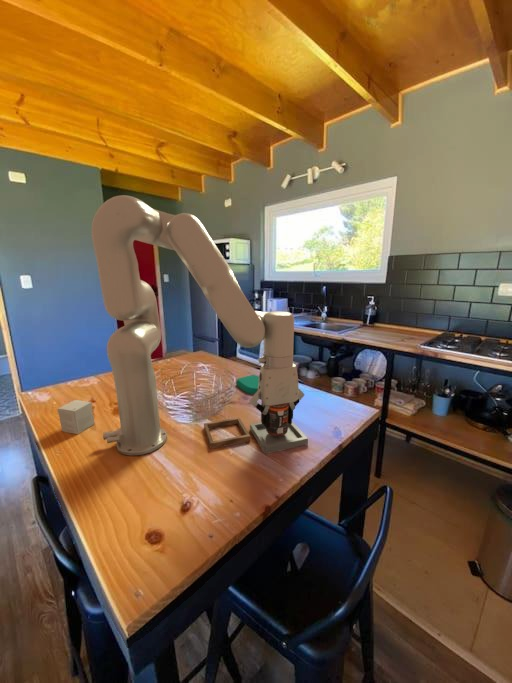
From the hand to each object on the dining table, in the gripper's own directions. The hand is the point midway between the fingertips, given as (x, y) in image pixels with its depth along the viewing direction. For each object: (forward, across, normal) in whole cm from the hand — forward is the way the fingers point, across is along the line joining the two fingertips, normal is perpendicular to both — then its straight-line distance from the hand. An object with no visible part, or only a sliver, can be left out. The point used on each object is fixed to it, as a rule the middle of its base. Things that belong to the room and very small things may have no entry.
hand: (277, 422), depth 78 cm
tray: (+4, 0, 0) cm, 4 cm away
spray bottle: (+5, +6, +29) cm, 30 cm away
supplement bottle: (+3, 0, 0) cm, 3 cm away
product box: (+5, -53, +24) cm, 58 cm away
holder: (+4, -13, +6) cm, 15 cm away
